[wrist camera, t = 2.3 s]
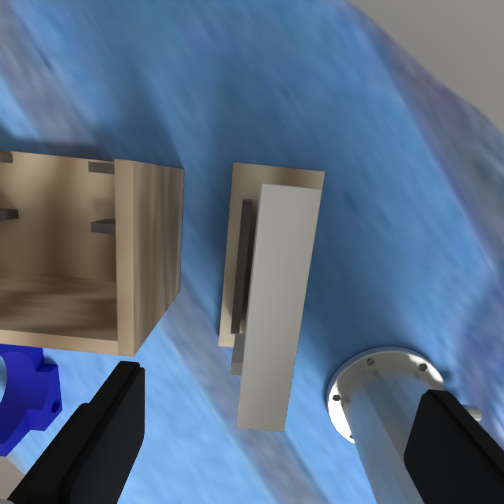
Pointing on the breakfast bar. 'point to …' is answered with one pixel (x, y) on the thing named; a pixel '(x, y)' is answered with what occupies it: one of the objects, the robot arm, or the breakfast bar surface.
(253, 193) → the door stand
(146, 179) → the cabinet
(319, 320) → the breakfast bar surface
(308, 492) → the breakfast bar surface
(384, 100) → the breakfast bar surface
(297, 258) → the door
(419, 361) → the robot arm
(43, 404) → the cable clip
